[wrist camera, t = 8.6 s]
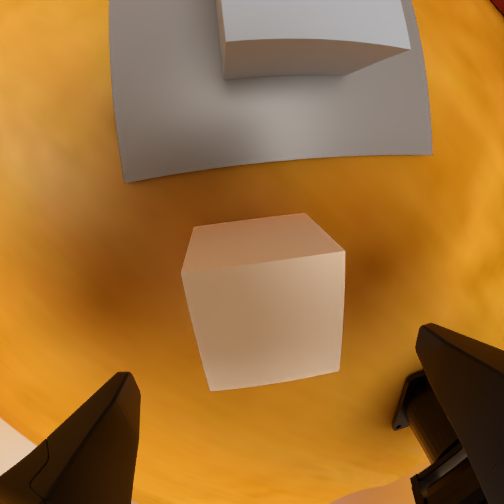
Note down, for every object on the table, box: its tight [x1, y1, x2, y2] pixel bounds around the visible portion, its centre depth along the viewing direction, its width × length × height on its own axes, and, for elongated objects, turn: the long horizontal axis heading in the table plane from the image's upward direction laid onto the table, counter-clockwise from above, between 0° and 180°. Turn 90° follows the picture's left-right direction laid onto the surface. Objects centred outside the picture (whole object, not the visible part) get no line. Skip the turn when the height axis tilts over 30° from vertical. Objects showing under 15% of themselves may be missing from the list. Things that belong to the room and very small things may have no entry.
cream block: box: [181, 213, 345, 392], centre depth 12 cm, size 5×5×5 cm
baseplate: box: [109, 0, 432, 183], centre depth 10 cm, size 12×14×1 cm
